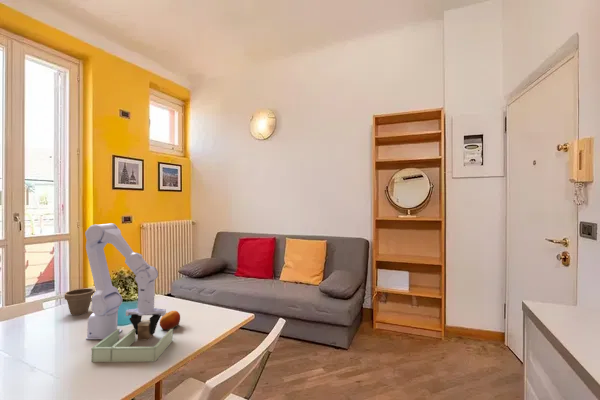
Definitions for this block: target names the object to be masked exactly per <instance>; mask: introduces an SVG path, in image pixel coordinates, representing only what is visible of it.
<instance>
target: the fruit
mask: <svg viewBox="0 0 600 400" xmlns="http://www.w3.org/2000/svg"><path fill="white" fill-rule="evenodd" d="M180 321H181V314H180V313H179V312H178V311H177V310H170V311H168V312H166V314H165V315H164V316H161V317H160V319H159V327H160V328H161V329H163V330H164V331H169V330H170V329H173V330H174V329H175V328H176V327H180Z"/></svg>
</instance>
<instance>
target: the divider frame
mask: <svg viewBox="0 0 600 400" xmlns="http://www.w3.org/2000/svg"><path fill="white" fill-rule="evenodd" d="M119 331H120V328H117V330H115V331H114V332H113V333H111V334H110V335H109V336H107V337H106V338H104V339H101V340H100V341H99V342H98V343H96V344H95V345H93V346H92V347H91V363H93V362H94V363H95V362H96V363H99V362H100V363H101V362H103V363H104V362H105V363H107V362H108V363H109V362H110V363H111V362H112V363H115V362H116V363H117V362H118V363H119V362H120V363H121V362H124V363H125V362H126V363H127V362H156V361H157V360H158V359H159V358H160V357H161V355H162V354H163V353H164V352H165V351H166V349H168V347H169V346H170V344H171V343H172V342H173V341H174V340H173V339H174V338H173V335H174V334H173V333H174V329H170V330H167V332H166V334H164V335H163V337H162V338H161V339H160V340H159V341H158V342H157V343H156V344H155V345H154V346H131V345H132V344H134V342H136V333H135V331H136V329H134V328H133V329H132V330H131V331H129V332H128V333H126V334H125V335H123V337H122V338H121V339H120V332H119Z"/></svg>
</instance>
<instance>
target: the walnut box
mask: <svg viewBox="0 0 600 400" xmlns="http://www.w3.org/2000/svg"><path fill="white" fill-rule="evenodd" d="M153 336H154V334H153V335H151V324H150V319H141V322H140V323H138V335H137V341H149V340H150V339H151V338H152V337H153Z"/></svg>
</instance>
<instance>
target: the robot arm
mask: <svg viewBox="0 0 600 400" xmlns="http://www.w3.org/2000/svg"><path fill="white" fill-rule="evenodd" d="M84 234H85V239H86V242H85V250H86V255H87V258H88V263H89V267H90V272H91V275H92V280H93V284H94V288H95V293H94V295H93V296H92V298H91V311H92V313H90V315H89V317H88V320H87V329H86V331H87V332H86V333H87V334H86V335H87V336H86V337H85V340H103V339H104V338H106V337H107V336H109V335H110V334H111V333H113V332H114V331H115V330H117V329H118V321H119V320H118V317H119V316H118V314H119V310H120V306H121V305H122V303H123V296H122V294H120V292H119V289H118V287H115V286H114V285H113V283H112V279H111V274H110V270H109V266H108V262H107V257H106V253H105V250H104V249H105V248H106V245H107V244H111V245H112V246H113V247H114V248H115V249H116V250H117V251H118V252H120V254H121V255H122V256H123V257H124V258H125V260H124V263H125V264H126V266H127V267H128V268H129V269H130V270H131V272H132V273H133V274H134V275H135V277H134V281H135V282H136V284H137V288H138V289H137V290H138V293H137V295H138V296H137V308H131V309H130V308H129V309H126V310H125V317H129V316H130V317H129V321H130V323H131V324H132V326H133V329H136V331H135V336H138V323H140V322H141V321H142V318H143V317H144V316H150V317H149V320H150V324H151V335H153V336H154V334H155V333H156V329H157V325H158V322H160V319H161V318H162V316H164V315H165V314H166V313H167V309H166V308H164V309H163V308H157V307H155V293H156V291H155V290H156V289H155V288H156V285H155V284H156V280H157V279H158V276H159V272H158V269H157V268H156V267H155V266H152V265H150V264H148V262H147V261H146V260H145V258H144V255H143V254H141V253H140V252H139V253H138V252H134V251H133V249H132V247H131V246H130V245H129V244H128V242H127V241H126V239H125V238H124V237H123V235H122V231H121V229H120V228H119V227H118V225H116V223H112V222H110V223H102V224H91V225H89V227H87V229H86V231H85V233H84ZM119 329H120V328H119ZM122 331H123V329H122V328H121V329H120V331H119V333H121V332H122Z"/></svg>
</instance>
